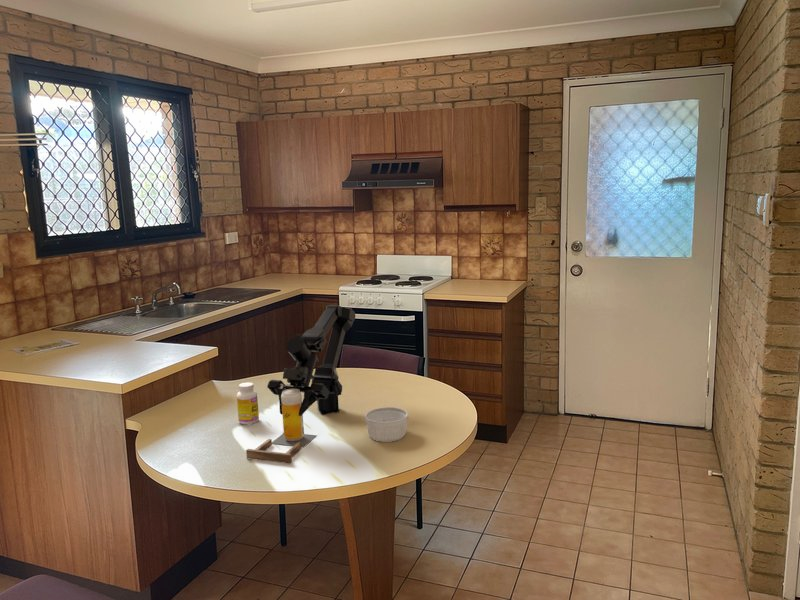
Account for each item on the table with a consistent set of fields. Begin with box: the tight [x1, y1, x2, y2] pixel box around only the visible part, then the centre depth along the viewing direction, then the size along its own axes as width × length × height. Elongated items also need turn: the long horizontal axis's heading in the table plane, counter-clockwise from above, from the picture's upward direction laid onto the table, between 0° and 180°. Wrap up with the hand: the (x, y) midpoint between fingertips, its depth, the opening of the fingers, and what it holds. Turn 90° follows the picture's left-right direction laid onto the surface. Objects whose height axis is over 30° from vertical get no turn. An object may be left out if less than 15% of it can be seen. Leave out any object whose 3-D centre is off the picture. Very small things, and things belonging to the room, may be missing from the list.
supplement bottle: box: [236, 382, 260, 425], centre depth 210 cm, size 7×7×13 cm
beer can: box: [281, 389, 305, 441], centre depth 193 cm, size 6×6×15 cm
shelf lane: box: [245, 438, 303, 465], centre depth 184 cm, size 10×14×2 cm
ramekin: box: [364, 406, 409, 443], centre depth 195 cm, size 13×13×7 cm
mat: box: [272, 432, 317, 448], centre depth 194 cm, size 9×11×1 cm
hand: (290, 414), depth 192 cm, fingers closed on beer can, 6 cm apart
